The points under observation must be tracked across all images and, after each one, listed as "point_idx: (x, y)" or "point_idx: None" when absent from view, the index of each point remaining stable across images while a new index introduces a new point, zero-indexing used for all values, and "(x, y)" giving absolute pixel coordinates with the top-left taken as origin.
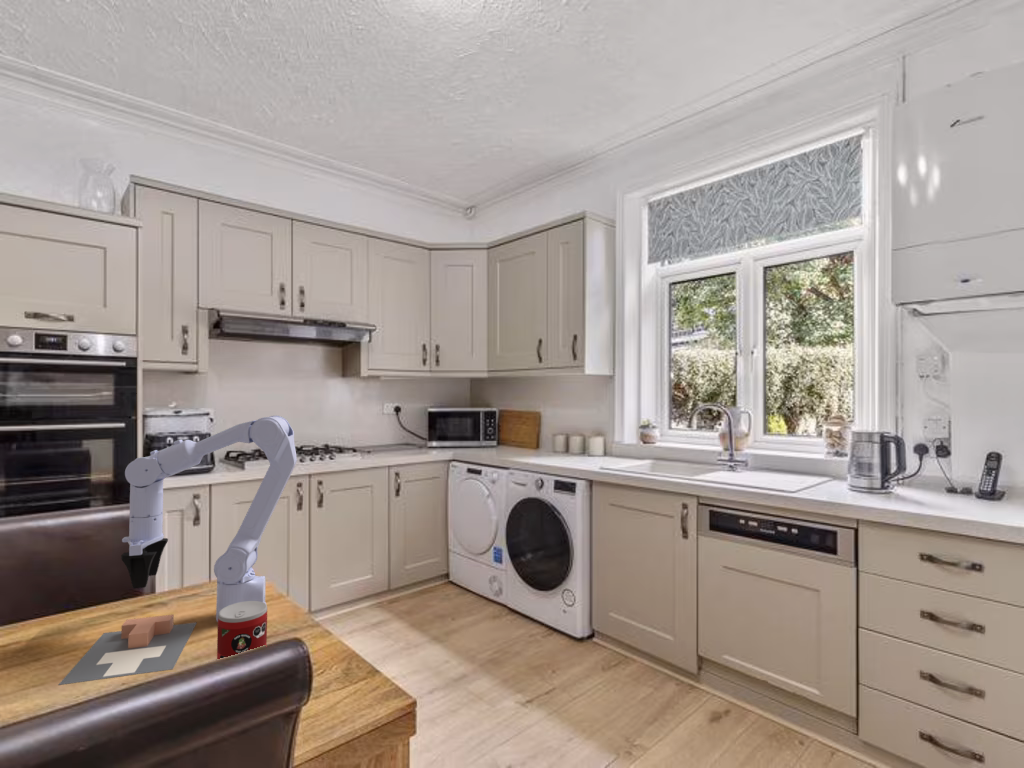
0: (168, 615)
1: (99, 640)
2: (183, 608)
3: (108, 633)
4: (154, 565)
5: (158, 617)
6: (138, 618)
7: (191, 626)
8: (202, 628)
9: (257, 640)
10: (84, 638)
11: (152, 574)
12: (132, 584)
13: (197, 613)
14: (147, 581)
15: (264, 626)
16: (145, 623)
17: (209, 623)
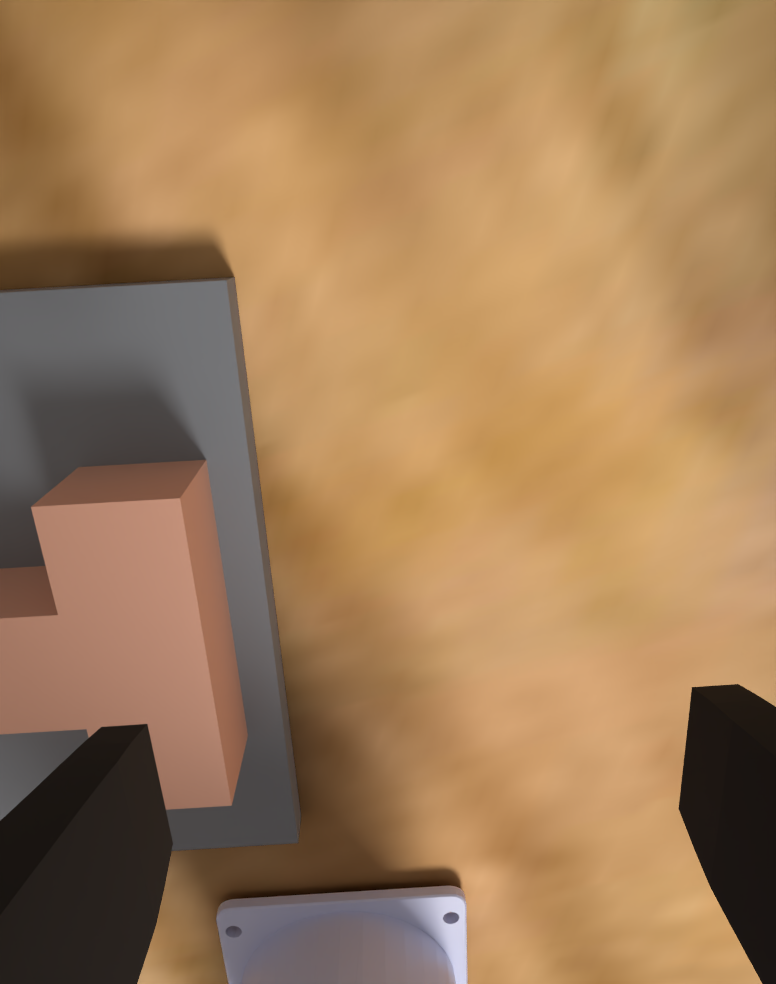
0: (216, 778)
1: (64, 308)
2: (703, 660)
3: (206, 325)
4: (770, 933)
5: (186, 724)
6: (191, 585)
7: (231, 831)
8: (277, 846)
9: None
10: (267, 101)
11: (686, 790)
12: (55, 769)
13: (558, 766)
14: (151, 919)
15: None
16: (61, 673)
17: (351, 862)
